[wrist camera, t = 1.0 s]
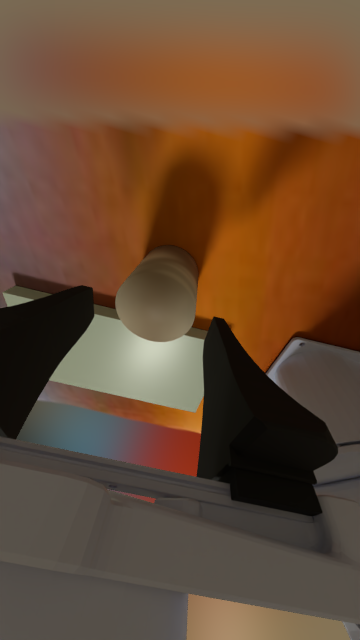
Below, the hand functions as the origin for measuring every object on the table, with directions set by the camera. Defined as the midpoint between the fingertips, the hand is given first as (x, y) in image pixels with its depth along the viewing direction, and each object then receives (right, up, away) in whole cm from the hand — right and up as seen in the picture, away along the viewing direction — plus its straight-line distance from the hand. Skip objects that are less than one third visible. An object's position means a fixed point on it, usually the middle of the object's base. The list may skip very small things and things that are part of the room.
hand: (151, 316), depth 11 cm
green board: (-5, -4, +12) cm, 14 cm away
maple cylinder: (+1, +4, +5) cm, 7 cm away
